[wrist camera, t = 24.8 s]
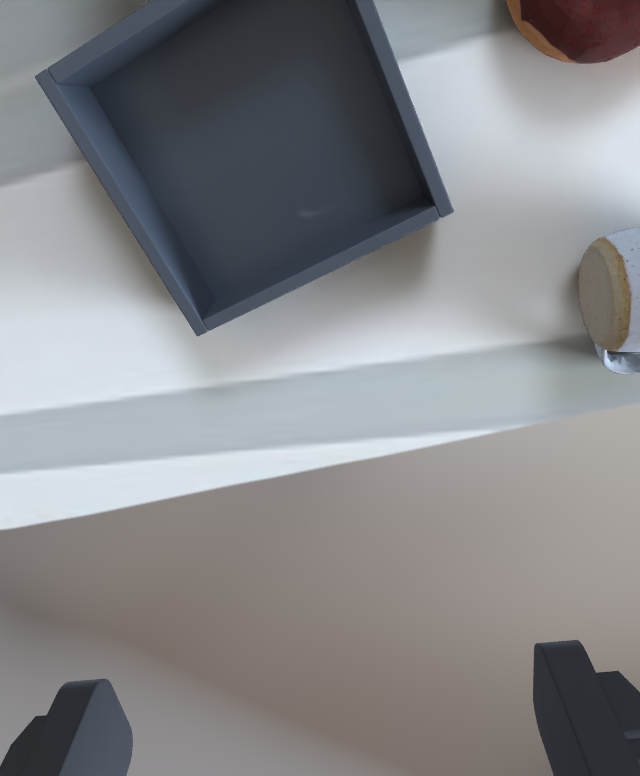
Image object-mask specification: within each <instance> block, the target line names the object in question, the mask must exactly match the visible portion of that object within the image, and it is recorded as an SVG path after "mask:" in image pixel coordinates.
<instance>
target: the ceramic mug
mask: <svg viewBox="0 0 640 776" xmlns="http://www.w3.org/2000/svg"><path fill="white" fill-rule="evenodd" d="M578 292H579V304H580V309H581V314H582V317H583V321H584V325H585V327H586V329H587V331H588V333H589V335H590V337H591V339H592V340H593V341H594V342H595V348H596V351H597V353H598V355H599V358H600V360H601V362H602V363H603V365H604V366H605V367H606V368H607V369H609V370H610V371H612V372H615V373H619V374H640V354H639V355H610V354H608V353H607V350H608V351H616V352H640V228H632V229H627V230H622V231H618V232H615V233H612V234H609V235H607V236H604V237H601V238H599V239H597V240H595V241H594V242H593V243H592V244H591V245H590V246H589V247H588V249H587V250H586V252H585V254H584V256H583V258H582V261H581V264H580V271H579V286H578Z"/></svg>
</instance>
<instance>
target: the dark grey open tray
mask: <svg viewBox="0 0 640 776" xmlns="http://www.w3.org/2000/svg"><path fill="white" fill-rule="evenodd" d="M35 78H36V80H37V81H38V83H39V85H40V86H41V88H42V89H43V91H44V93H45V94H46V96H47V97H48V99H49V101H50V102H51V104H52V105H53V107H54V109H55V110H56V112H57V113H58V115H59V116H60V118H61V120H62V121H63V123H64V124H65V126H66V128H67V129H68V131H69V132H70V134H71V136H72V137H73V139H74V140H75V142H76V144H77V145H78V147H79V148H80V150H81V152H82V153H83V155H84V156H85V158H86V160H87V161H88V163H89V164H90V166H91V168H92V169H93V171H94V172H95V174H96V176H97V177H98V179H99V180H100V182H101V184H102V185H103V187H104V188H105V190H106V191H107V193H108V195H109V196H110V198H111V199H112V201H113V203H114V204H115V206H116V207H117V209H118V211H119V212H120V214H121V215H122V217H123V219H124V220H125V222H126V223H127V225H128V227H129V228H130V230H131V231H132V233H133V235H134V236H135V238H136V239H137V241H138V243H139V244H140V246H141V247H142V249H143V251H144V252H145V254H146V255H147V257H148V258H149V260H150V262H151V263H152V265H153V266H154V268H155V270H156V271H157V273H158V274H159V276H160V278H161V279H162V281H163V282H164V284H165V286H166V287H167V289H168V290H169V292H170V294H171V295H172V297H173V298H174V300H175V302H176V303H177V305H178V306H179V308H180V310H181V311H182V313H183V314H184V316H185V318H186V319H187V321H188V322H189V324H190V326H191V327H192V329H193V330H194V332H195V333H196V335H197V336H200V335H202V334H204V333H206V332H208V330H209V331H210V330H212V329H214V328H216V327H218V326H220V325H222V324H224V323H226V322H229V321H231V320H233V319H235V318H237V317H239V316H241V315H243V314H245V313H247V312H249V311H251V310H253V309H255V308H257V307H259V306H262V305H264V304H266V303H268V302H270V301H272V300H274V299H276V298H278V297H280V296H282V295H284V294H286V293H288V292H290V291H292V290H294V289H297V288H299V287H301V286H303V285H305V284H307V283H309V282H311V281H313V280H315V279H317V278H319V277H321V276H323V275H325V274H327V273H329V272H332V271H334V270H336V269H338V268H340V267H342V266H344V265H346V264H348V263H350V262H352V261H354V260H356V259H358V258H360V257H362V256H365V255H367V254H369V253H371V252H373V251H375V250H377V249H379V248H381V247H383V246H385V245H387V244H389V243H391V242H393V241H395V240H397V239H400V238H402V237H404V236H406V235H408V234H410V233H412V232H414V231H416V230H418V229H420V228H422V227H424V226H426V225H428V224H430V223H433V222H435V221H437V220H439V219H440V218H443V217H445V216H447V215H449V214H451V213H453V212H454V210H453V208H452V205H451V202H450V200H449V197H448V195H447V192H446V189H445V187H444V184H443V182H442V179H441V176H440V174H439V171H438V169H437V166H436V163H435V161H434V158H433V155H432V153H431V150H430V148H429V145H428V142H427V140H426V137H425V135H424V132H423V129H422V127H421V124H420V122H419V119H418V116H417V114H416V111H415V109H414V106H413V103H412V101H411V98H410V96H409V93H408V90H407V88H406V85H405V82H404V80H403V77H402V75H401V72H400V69H399V67H398V64H397V62H396V59H395V56H394V54H393V51H392V49H391V46H390V43H389V41H388V38H387V36H386V33H385V30H384V28H383V25H382V22H381V20H380V17H379V15H378V12H377V9H376V7H375V4H374V2H373V0H152V1H151V2H149V3H148V4H146V5H145V6H143V7H142V8H140V9H139V10H137V11H135V12H134V13H132V14H131V15H129V16H128V17H126V18H125V19H123V20H121V21H120V22H118V23H117V24H115V25H114V26H112V27H111V28H109V29H107V30H106V31H104V32H103V33H101V34H100V35H98V36H97V37H95V38H94V39H92V40H90V41H89V42H87V43H86V44H84V45H83V46H81V47H80V48H78V49H76V50H75V51H73V52H72V53H70V54H69V55H67V56H66V57H64V58H62V59H61V60H59V61H58V62H56V63H55V64H53V65H52V66H50V67H49V68H48V69H45V70H44V71H42V72H41V73H39V74H38V75H36V76H35Z"/></svg>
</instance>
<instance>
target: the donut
mask: <svg viewBox="0 0 640 776" xmlns="http://www.w3.org/2000/svg"><path fill="white" fill-rule="evenodd" d="M506 3H507V6H508V8H509V11H510V13H511V16H512V18H513V21H514V23H515V24H516V26H517V28H518V29H519V31H520V33H521V34H522V35H523V36H524V37H525V38H526V39H527V40H528V41H529V42H530V43H531V44H532V45H533V46H534V47H535V48H537V49H538V50H540V51H541V52H543V53H544V54H546V55H548V56H550V57H553V58H555V59H558V60H560V61H564V62H572V63H582V64H591V63H600V62H607V61H609V60H611V59H614V58H616V57H618V56H620V55H622V54H624V53H626V52H628V51H630V50H632V49H634V48H636V47H638V46H640V0H506Z"/></svg>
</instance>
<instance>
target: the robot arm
mask: <svg viewBox="0 0 640 776" xmlns="http://www.w3.org/2000/svg"><path fill="white" fill-rule="evenodd" d="M533 679H534V680H533V702H534V710H535V715H536V719H537V724H538V728H539V732H540V735H541V738H542V741H543V744H544V747H545V750H546V753H547V756H548V759H549V762H550V765H551V768H552V771H553V774H554V776H640V692H639V691H638V690H637V689H636V688H635V687H634V686H633V685H632V684H631V683H630V682H629V681H628V680H627V679H626V678H624V676H622V674H621V673H620V672H619V671H612V672H601V673H596V672H595V670H594V668H593V666H592V663H591V661H590V659H589V657H588V655H587V653H586V651H585V649H584V647H583V645H582V644H581V643H580V642H579V641H578V640H571V641H559V642H548V643H537V644H535V646H534V677H533ZM132 747H133V738H132V731H131V727H130V724H129V722H128V720H127V718H126V716H125V714H124V711H123V709H122V707H121V705H120V703H119V700H118V698H117V696H116V694H115V691H114V689H113V687H112V685H111V683H110V682H109V681H108V680H107V679H97V680H85V681H73V682H67V683H65V684H64V685H63V686H62V687H61V688H60V690H59V691H58V693H57V695H56V697H55V699H54V701H53V704H52V706H51V708H50V710H49V712H48V714H47V715H46V716H36V717H35V718H34V719H33V720H32V722H30V724H29V725H28V726H27V727H26V728H25V729H24V731H23V732H22V733H21V734H20V735H19V736H18V738H17V739H16V740H15V741H14V742H13V743H12V744H11V746H10V748H9V750H8V753H7V754H6V756H5V758H4V760H3V762H2V764H1V766H0V776H126V774H127V771H128V768H129V765H130V761H131V756H132Z"/></svg>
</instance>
